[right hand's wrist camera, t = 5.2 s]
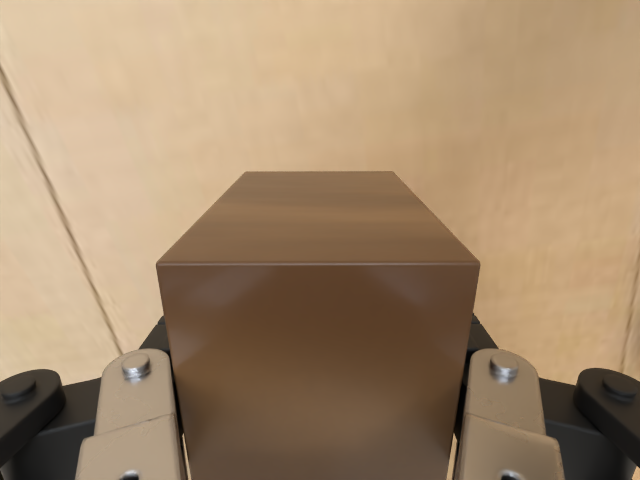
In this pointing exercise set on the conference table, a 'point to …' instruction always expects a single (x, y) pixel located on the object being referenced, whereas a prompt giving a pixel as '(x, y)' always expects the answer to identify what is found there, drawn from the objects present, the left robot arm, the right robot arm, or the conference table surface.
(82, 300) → the conference table surface
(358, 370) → the bar
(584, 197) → the conference table surface
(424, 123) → the conference table surface
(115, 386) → the right robot arm
